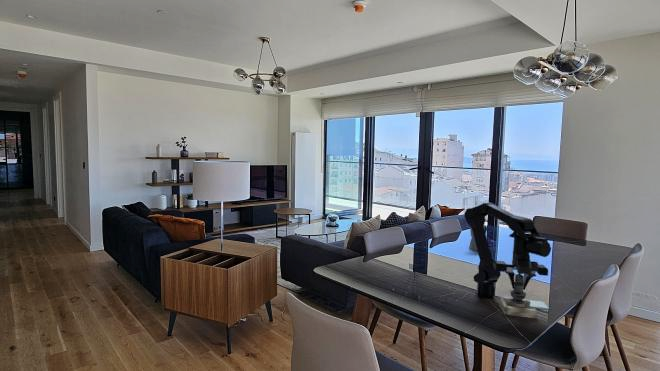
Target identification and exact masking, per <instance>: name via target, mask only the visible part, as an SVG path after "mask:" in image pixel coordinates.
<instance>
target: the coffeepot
mask: <svg viewBox="0 0 660 371" xmlns="http://www.w3.org/2000/svg"><path fill="white" fill-rule="evenodd" d="M469 230H470V237H471V239H470V241H469V247H468V249H469V250H471V251H475V252H478V250H477V246H476V242H475V238H474V234H473V230H472V228H471V227H470V226H469ZM484 230H485V234H486V235H487V230H488V227H487V225H485V224H484Z"/></svg>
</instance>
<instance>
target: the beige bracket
mask: <svg viewBox="0 0 660 371" xmlns="http://www.w3.org/2000/svg"><path fill="white" fill-rule="evenodd" d="M512 298H513V297H508V296H498V301H497V302H498V304H497V305H498V306H499V308H500V309H501V311H502V313H503V315H507V316H514V317H521V318H522V317H523V318H529V319H530V318H532V319H537V317H538V316H537V315H538V310H537V308H530V301H529V300H530V299H526V298H524V299H523V301H524V302H525V304H516V303H513V302H511V301H510V299H512Z"/></svg>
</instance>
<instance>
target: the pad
mask: <svg viewBox="0 0 660 371" xmlns="http://www.w3.org/2000/svg"><path fill="white" fill-rule="evenodd" d="M528 300H529V301H530V309H532V308H535V309H538V310H539V309H540V310H549V309H550V308H549V306H548V305H546V303H545V302H544V301H540V300H532V299H528Z"/></svg>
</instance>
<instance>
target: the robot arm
mask: <svg viewBox="0 0 660 371" xmlns="http://www.w3.org/2000/svg"><path fill="white" fill-rule="evenodd" d="M489 215H490V216H492V217H494V218H495V219H497V220H499V221H501V222H502V223H504V224H506V225H507V226H508V228H509V229H510V230H511V231H513V232H512V233H510V234H509V236H508V237H510V238H513V248H512V258H511V259H512V260H511V264H510V263H506V262H505V261H504V260H494V258H492V254H491V250H490V246H489V241H488V239H487V233H486V234H485V230H484V225H485V223H486V217H487V216H489ZM464 218H465V221H466V224H467V225H468V226H469V228H470V227H471V228H472V230H473V234H474V238H475V242H476V246H477V250H478V251H477V253H478V257H479V263H478V266H477V269H478V272H477V273H476V274H475V275H473V281H474V282H475V283H476V291H475V294H476V296H477V297H476V298H483V299H492V300H493V299H495V298H494V297H495V289H496V288H495V285H494V284H495V283H498V280H499V279H500V277H501V272H504V273H505V274H507V275H508V277H509V281H510V285H511V287H512V290H514V285H515V284H514V282H515V276H516V273H515V272H514V270H515V271H517V274H521V275H523V284H524V285H523V291H525V290H526V288H527V286H528V284H529V282H530V280H531V279H532V278H533V277H537V274H538V275H539V276H545V277H546V276H549V269H548V268H547V267H546V265H544V264H540V263H538V261H531V257H530V254H532V255H536V256H539V257H543V258H547V257H548V256H549V255H550V254H551V252H552V247H551V244H550V242H549V241H548V240H549V239H548V238H545V237H541V236H540V234H539V232H538V230H537V228H536V226H535V224H534V223H535V222H534V221H533V220H532V219H531V218H528V217H524V216H520V215H516V214H513V213H511V212H509V211H508V210H505V209H504V208H501V207H500V206H498V205H496V204H495V203H493V202H484V203H481V204H479V205H477V206H473V207H471V208H470V207H467V209H466V210H465V211H464ZM536 273H537V274H536Z"/></svg>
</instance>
